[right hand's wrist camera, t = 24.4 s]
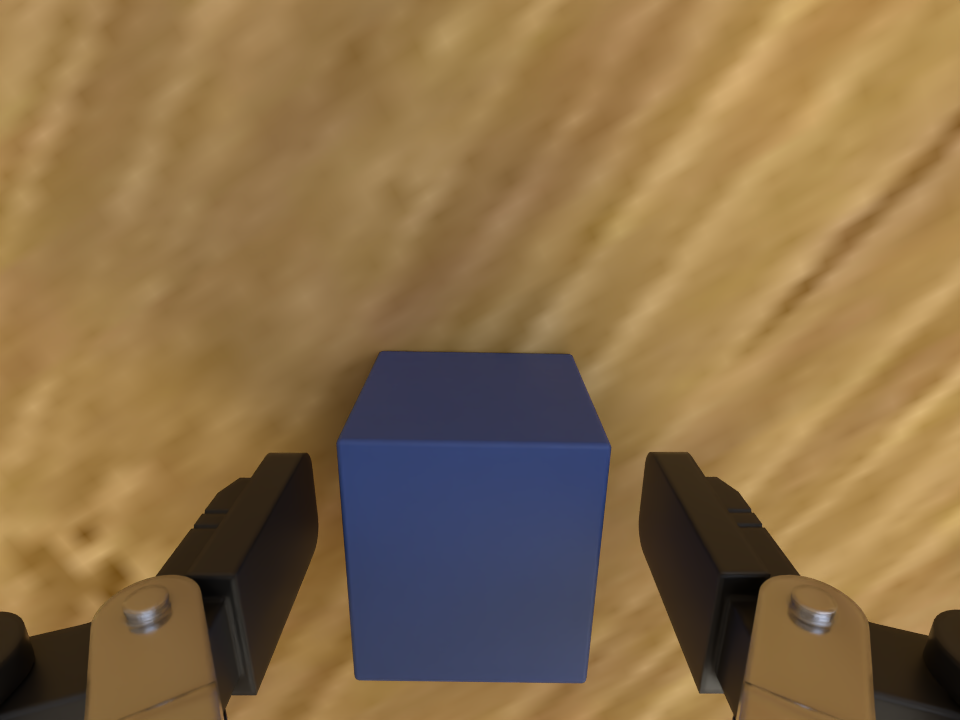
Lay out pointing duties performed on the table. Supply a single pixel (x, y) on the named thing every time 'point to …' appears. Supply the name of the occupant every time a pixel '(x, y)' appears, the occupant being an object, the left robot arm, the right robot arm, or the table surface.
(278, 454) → the right robot arm
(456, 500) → the brick
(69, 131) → the table surface
